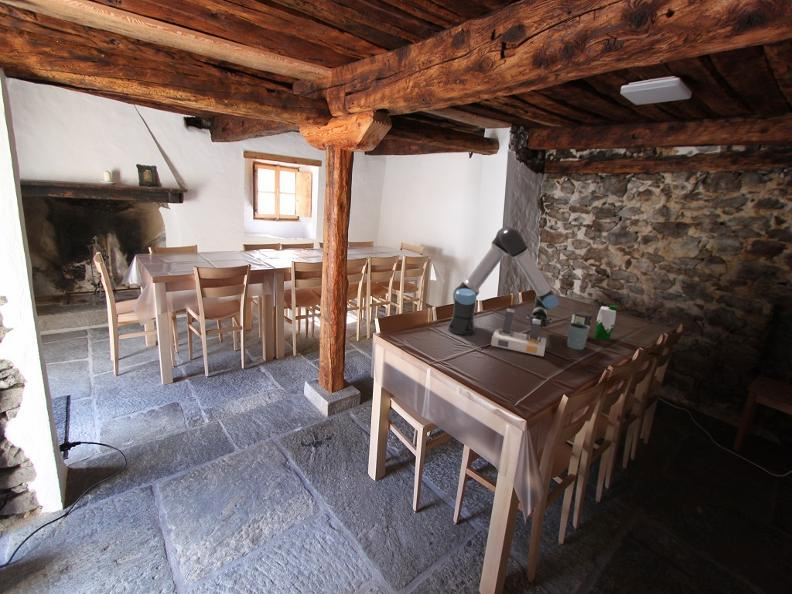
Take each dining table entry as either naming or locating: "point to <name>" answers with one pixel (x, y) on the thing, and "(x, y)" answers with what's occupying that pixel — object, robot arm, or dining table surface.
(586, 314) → the coffee can
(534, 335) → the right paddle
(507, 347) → the console
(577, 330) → the drinking glass
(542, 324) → the robot arm
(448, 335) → the dining table surface
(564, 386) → the dining table surface
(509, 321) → the left paddle
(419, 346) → the dining table surface
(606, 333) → the milk carton
